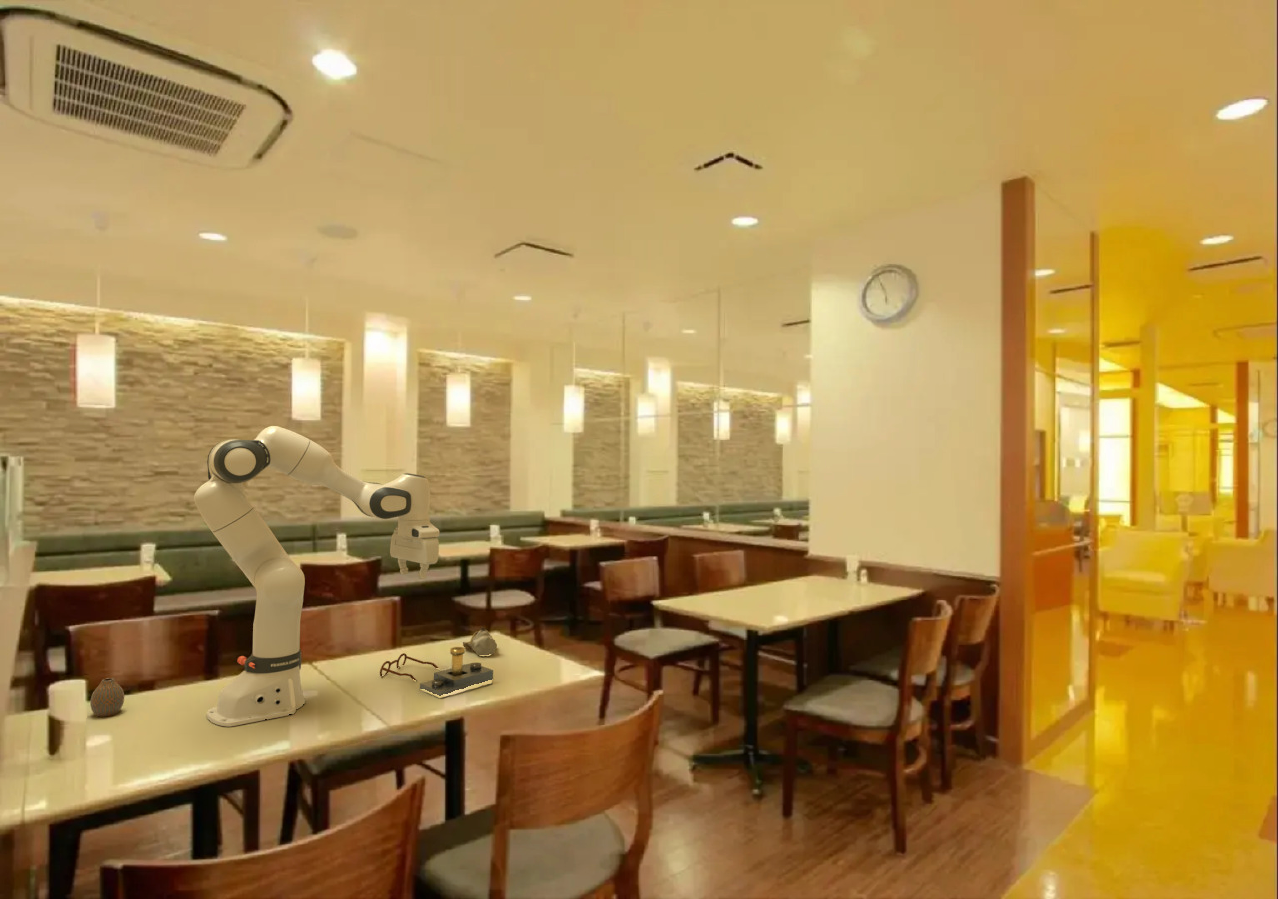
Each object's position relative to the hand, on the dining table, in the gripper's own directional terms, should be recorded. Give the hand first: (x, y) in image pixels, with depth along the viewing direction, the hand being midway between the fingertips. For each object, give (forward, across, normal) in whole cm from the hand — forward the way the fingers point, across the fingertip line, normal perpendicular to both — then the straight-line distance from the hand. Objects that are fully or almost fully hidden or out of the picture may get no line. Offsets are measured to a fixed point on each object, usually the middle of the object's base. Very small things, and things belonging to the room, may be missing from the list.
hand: (412, 576), depth 211 cm
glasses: (+32, -7, +4) cm, 33 cm away
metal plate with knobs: (+31, +13, +7) cm, 34 cm away
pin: (+31, +13, +7) cm, 34 cm away
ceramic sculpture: (+32, -10, +33) cm, 47 cm away
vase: (+31, -32, -66) cm, 80 cm away
